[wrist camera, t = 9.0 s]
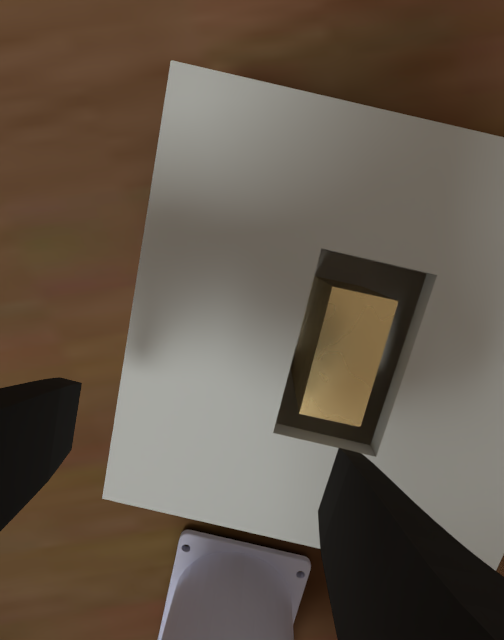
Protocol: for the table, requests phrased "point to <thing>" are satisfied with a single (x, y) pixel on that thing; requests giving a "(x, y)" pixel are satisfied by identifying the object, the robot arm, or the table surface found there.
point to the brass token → (340, 350)
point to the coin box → (290, 305)
